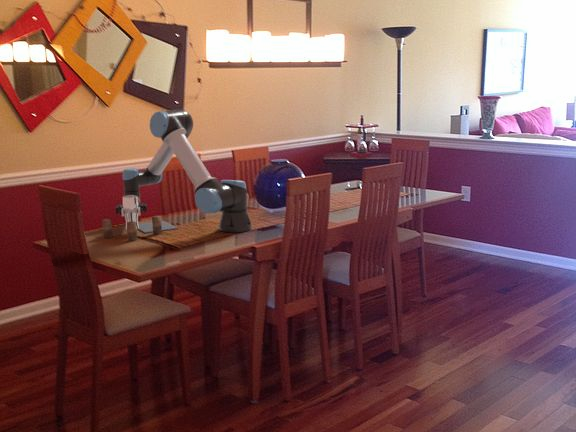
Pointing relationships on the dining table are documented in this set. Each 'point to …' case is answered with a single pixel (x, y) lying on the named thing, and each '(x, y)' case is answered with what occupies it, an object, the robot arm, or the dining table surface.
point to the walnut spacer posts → (131, 228)
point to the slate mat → (149, 227)
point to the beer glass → (131, 209)
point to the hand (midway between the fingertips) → (130, 212)
